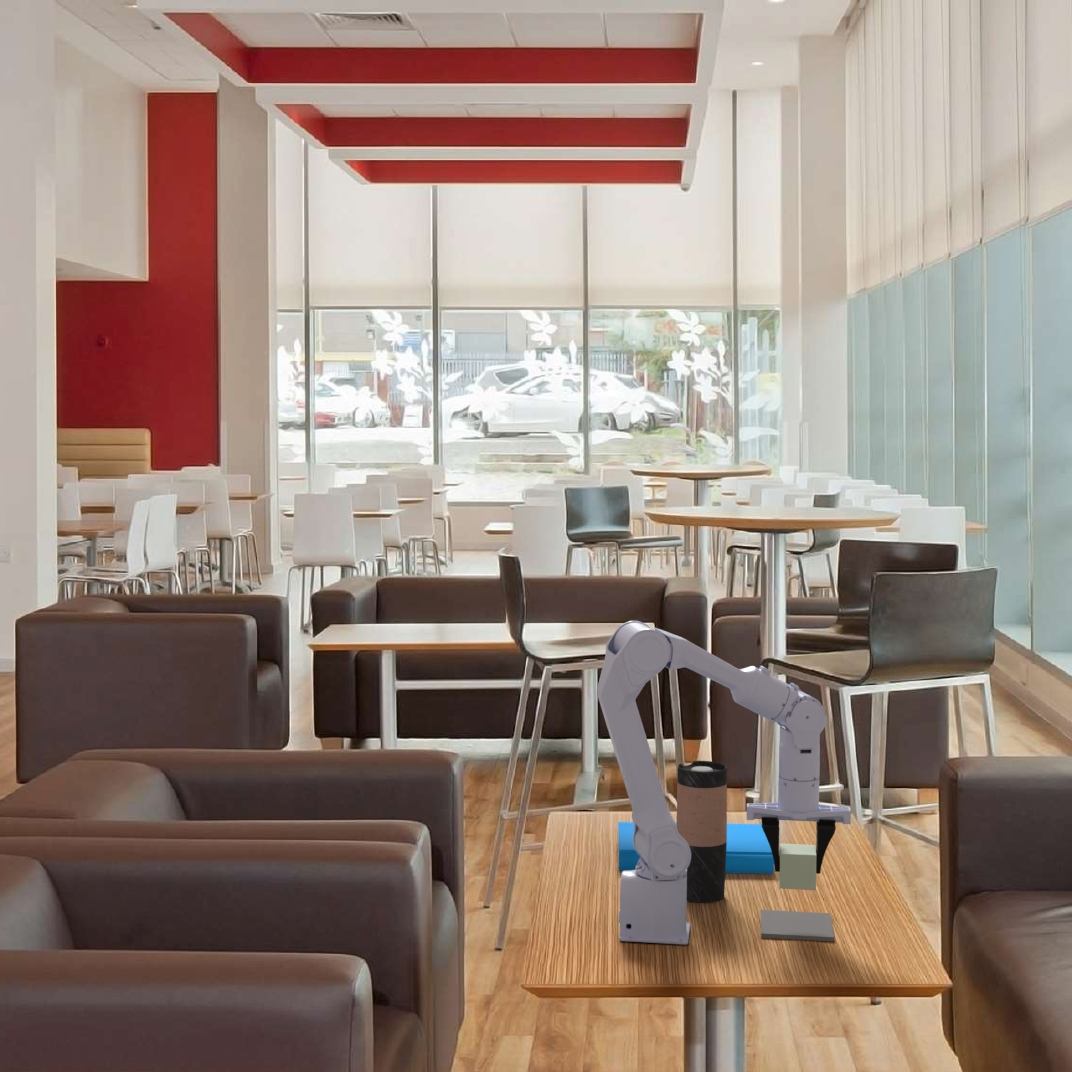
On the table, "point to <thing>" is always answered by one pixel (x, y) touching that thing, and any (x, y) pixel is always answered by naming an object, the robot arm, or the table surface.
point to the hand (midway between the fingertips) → (797, 870)
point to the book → (742, 849)
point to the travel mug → (703, 827)
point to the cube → (797, 866)
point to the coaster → (796, 925)
